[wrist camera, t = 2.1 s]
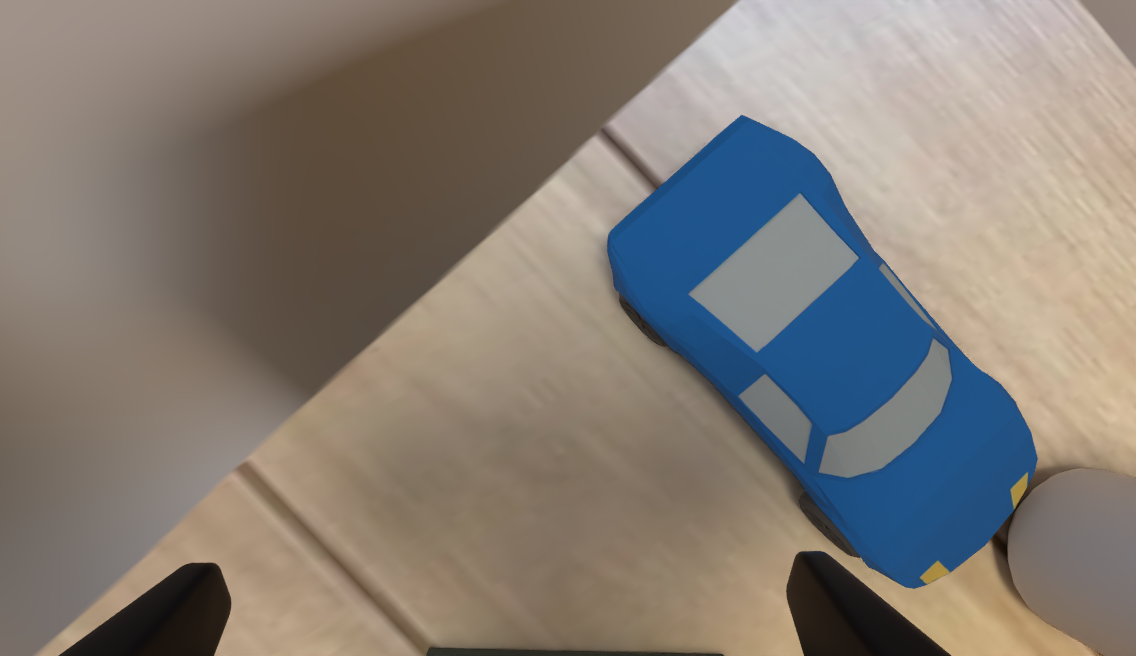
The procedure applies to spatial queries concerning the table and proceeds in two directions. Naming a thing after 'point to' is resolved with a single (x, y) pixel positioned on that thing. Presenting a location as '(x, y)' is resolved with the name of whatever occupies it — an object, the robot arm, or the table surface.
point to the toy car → (824, 354)
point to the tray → (542, 653)
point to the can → (1080, 557)
